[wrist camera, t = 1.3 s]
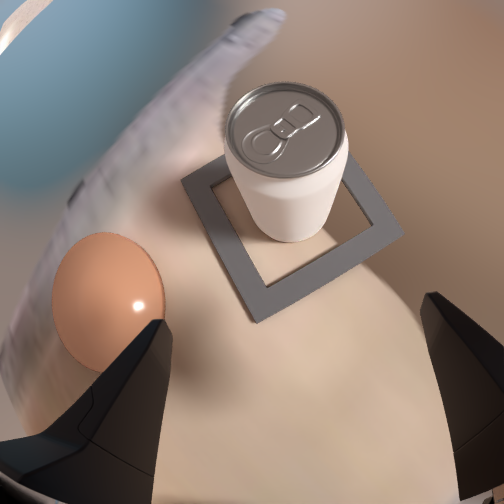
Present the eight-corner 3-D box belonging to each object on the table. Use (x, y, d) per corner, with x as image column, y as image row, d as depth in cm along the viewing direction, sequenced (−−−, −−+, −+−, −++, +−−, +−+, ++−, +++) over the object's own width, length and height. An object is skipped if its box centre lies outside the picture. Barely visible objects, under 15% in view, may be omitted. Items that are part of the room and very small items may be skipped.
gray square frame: (402, 235, 23) (404, 233, 22) (257, 323, 23) (256, 323, 23) (313, 112, 26) (313, 108, 25) (182, 182, 26) (180, 180, 26)
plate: (190, 337, 24) (185, 339, 23) (88, 387, 24) (81, 390, 23) (132, 209, 27) (126, 206, 25) (47, 274, 27) (39, 273, 26)
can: (235, 205, 25) (189, 128, 13) (290, 156, 25) (283, 59, 14) (289, 260, 24) (283, 218, 12) (344, 206, 24) (380, 128, 12)
